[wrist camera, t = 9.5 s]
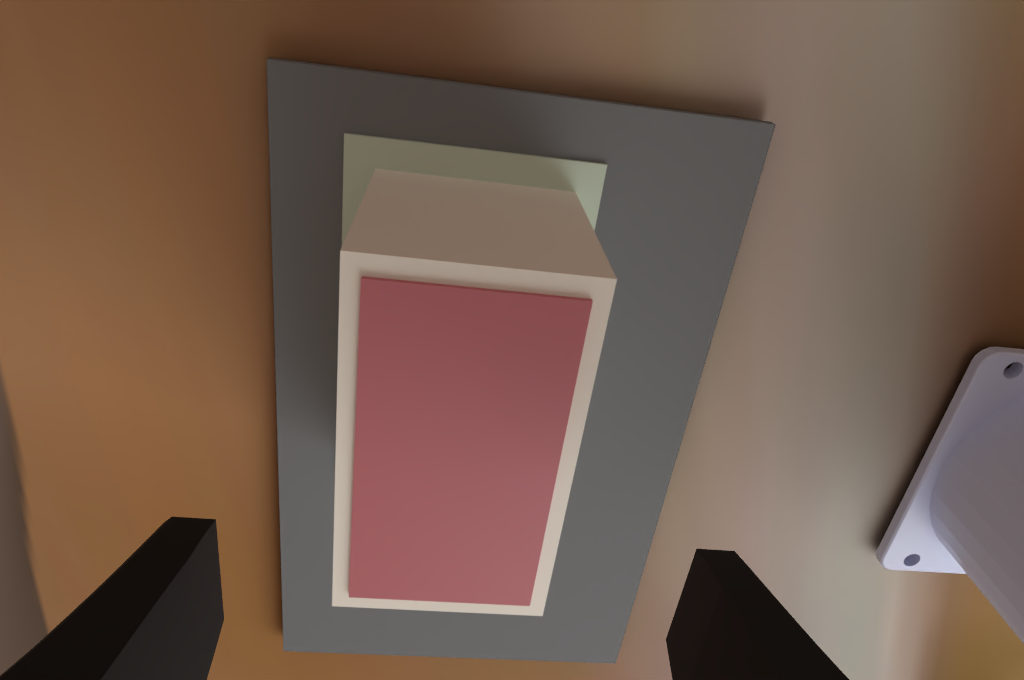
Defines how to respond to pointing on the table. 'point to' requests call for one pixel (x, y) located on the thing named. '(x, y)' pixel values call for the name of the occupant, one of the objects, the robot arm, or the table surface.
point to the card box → (461, 390)
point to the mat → (625, 351)
